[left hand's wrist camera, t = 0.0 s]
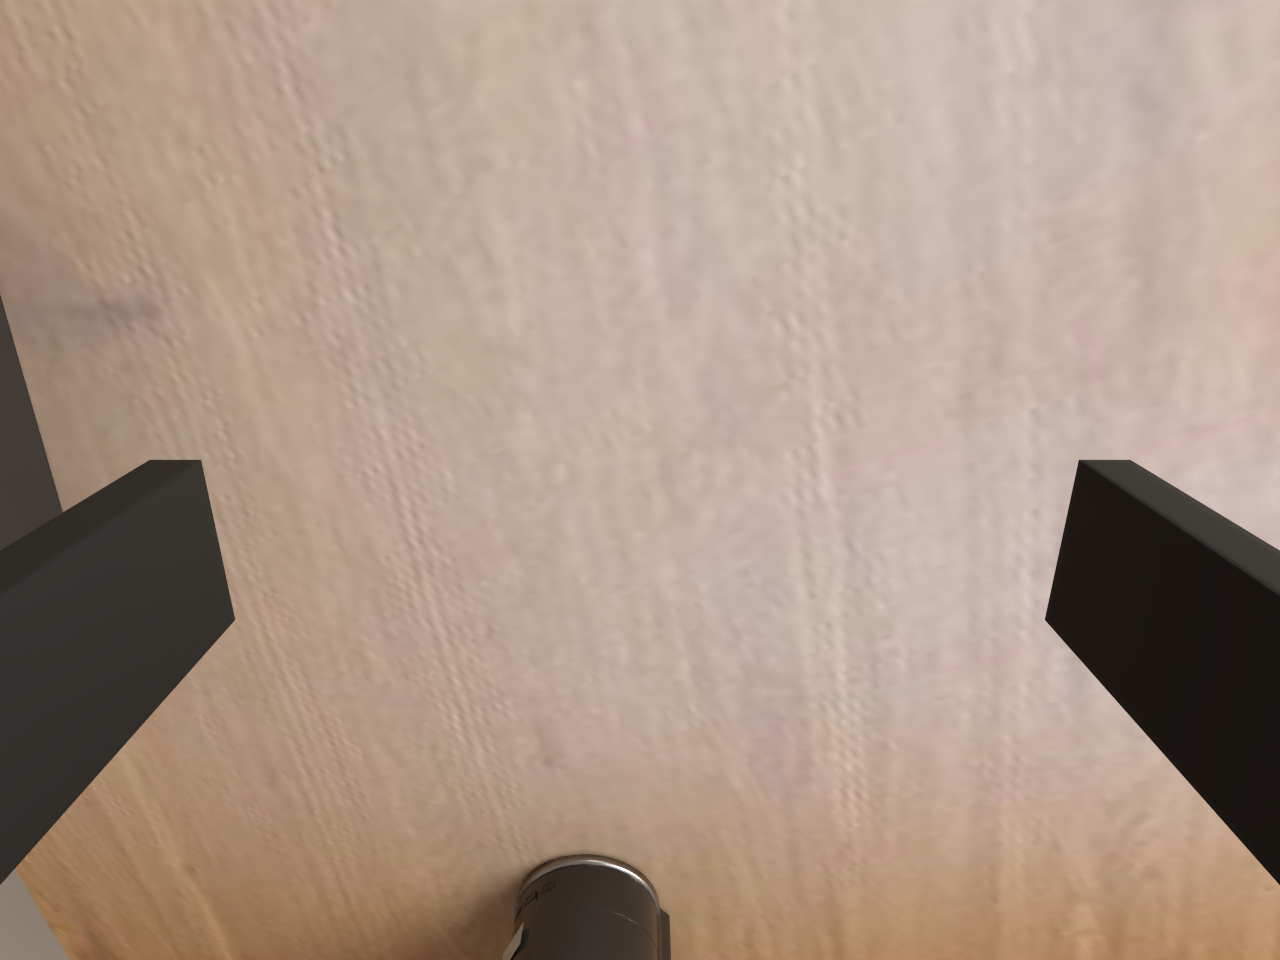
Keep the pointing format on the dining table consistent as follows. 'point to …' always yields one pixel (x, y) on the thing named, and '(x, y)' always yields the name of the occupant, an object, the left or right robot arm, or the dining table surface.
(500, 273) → the dining table surface
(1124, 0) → the dining table surface
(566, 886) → the right robot arm
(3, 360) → the bar
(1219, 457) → the dining table surface
